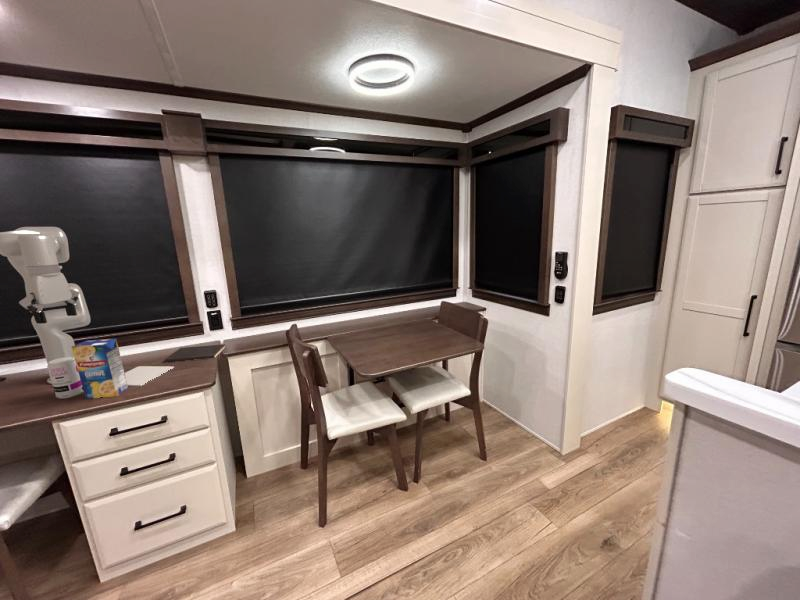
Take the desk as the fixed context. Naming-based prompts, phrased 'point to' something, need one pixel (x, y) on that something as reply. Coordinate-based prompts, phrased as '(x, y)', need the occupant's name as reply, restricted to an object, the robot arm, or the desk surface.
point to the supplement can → (65, 377)
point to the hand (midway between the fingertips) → (57, 319)
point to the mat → (144, 374)
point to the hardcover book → (195, 353)
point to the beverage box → (100, 368)
